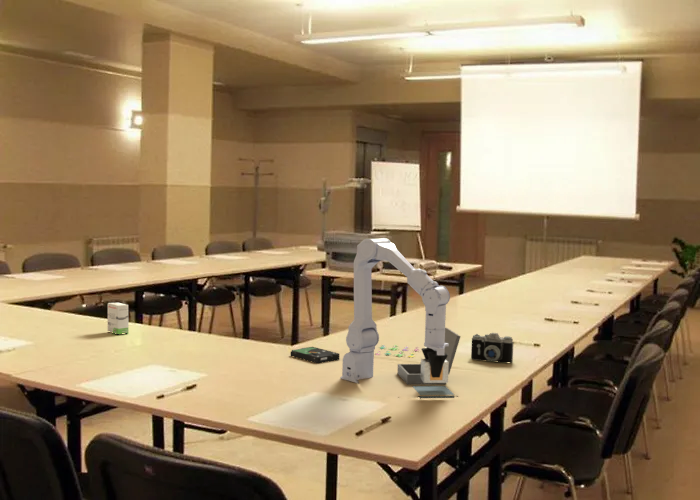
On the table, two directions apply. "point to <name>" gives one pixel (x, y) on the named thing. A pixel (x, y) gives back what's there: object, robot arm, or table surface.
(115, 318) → the ink box
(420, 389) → the mat
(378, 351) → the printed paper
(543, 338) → the table surface
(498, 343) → the camera
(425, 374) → the module
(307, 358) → the disk drive
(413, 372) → the case
